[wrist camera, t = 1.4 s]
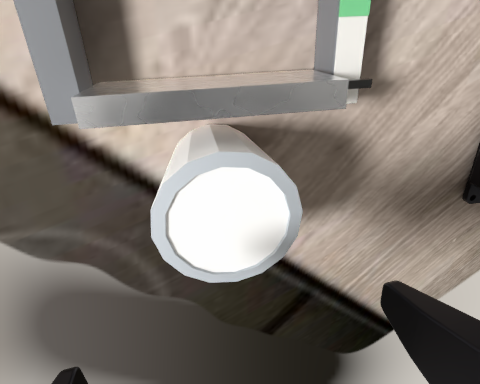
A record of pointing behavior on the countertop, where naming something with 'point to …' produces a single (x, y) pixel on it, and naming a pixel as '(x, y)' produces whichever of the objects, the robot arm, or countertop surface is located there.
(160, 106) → the flat metal bar
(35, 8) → the frame
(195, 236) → the white tapered cup
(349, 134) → the countertop surface
